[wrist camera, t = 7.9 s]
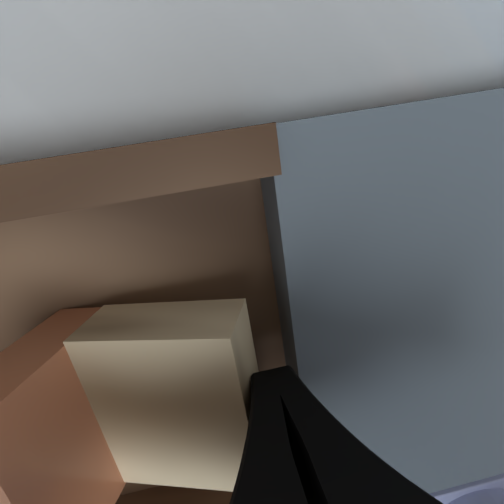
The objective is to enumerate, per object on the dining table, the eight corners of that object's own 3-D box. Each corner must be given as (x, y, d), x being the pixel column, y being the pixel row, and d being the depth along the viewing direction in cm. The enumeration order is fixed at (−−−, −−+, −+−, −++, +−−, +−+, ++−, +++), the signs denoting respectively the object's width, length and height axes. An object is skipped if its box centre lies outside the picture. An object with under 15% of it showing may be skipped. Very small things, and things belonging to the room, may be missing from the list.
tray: (297, 459, 16) (325, 551, 13) (35, 525, 15) (-20, 648, 12) (251, 129, 11) (275, 121, 7) (-157, 193, 10) (-372, 222, 6)
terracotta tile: (66, 596, 9) (6, 585, 9) (152, 434, 13) (109, 431, 14) (-33, 430, 7) (-104, 426, 7) (108, 306, 11) (60, 308, 12)
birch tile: (270, 437, 12) (263, 494, 10) (150, 431, 13) (124, 482, 11) (245, 298, 10) (230, 338, 8) (104, 305, 11) (62, 341, 9)
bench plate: (542, 397, 18) (606, 445, 15) (297, 459, 16) (317, 524, 14) (606, 73, 12) (724, 53, 10) (251, 129, 11) (267, 124, 8)
